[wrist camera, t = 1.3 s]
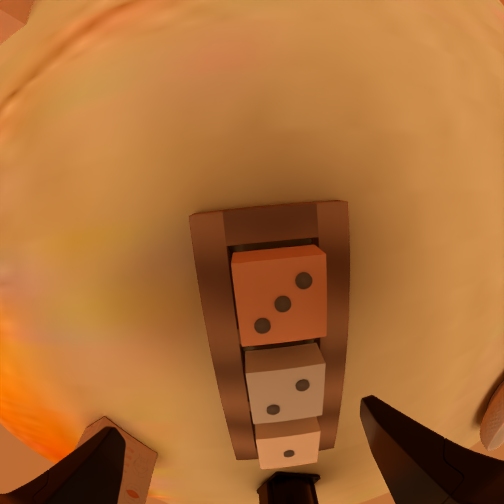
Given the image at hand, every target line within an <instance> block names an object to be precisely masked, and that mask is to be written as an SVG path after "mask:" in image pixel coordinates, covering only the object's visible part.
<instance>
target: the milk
mask: <svg viewBox="0 0 504 504" xmlns="http://www.w3.org/2000/svg"><path fill="white" fill-rule="evenodd" d="M33 1H34V0H0V45H1V44H2V43H3V42H4V41H6V40H7V39H8V38H9V37H11V36H12V35H13V34H14V33H16V32H17V31H18V30H20V29H21V28H22V27H24V26H25V25H26V23H27V19H28V16H29V13H30V10H31V7H32V4H33Z"/></svg>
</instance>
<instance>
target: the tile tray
mask: <svg viewBox="0 0 504 504" xmlns="http://www.w3.org/2000/svg"><path fill="white" fill-rule="evenodd" d="M189 222H190V230H191V237H192V244H193V252H194V258H195V265H196V272H197V278H198V284H199V291H200V297H201V302H202V308H203V314H204V319H205V325H206V330H207V335H208V341H209V346H210V351H211V356H212V361H213V365H214V370H215V375H216V379H217V384H218V388H219V393H220V397H221V401H222V405H223V410H224V414H225V418H226V422H227V426H228V430H229V434H230V438H231V441H232V445H233V449H234V452H235V456H236V460H250V459H259V456H258V450H257V444H256V434H255V433H254V426H253V420H252V414H251V406H250V400H249V393H248V387H247V381H246V374H245V367H244V360H243V353H242V345H241V337H240V330H239V323H238V316H237V308H236V300H235V292H234V284H233V276H232V268H231V260H230V251H229V246H231V245H240V244H250V243H260V242H270V241H281V240H291V239H301V238H312V245H316V246H317V247H318V248H319V249H321V250H322V251H323V252H324V253H325V254H326V268H327V336H325V337H319V338H314V343H317V345H318V347H319V350H320V352H321V354H322V356H323V359H324V361H325V363H326V365H325V383H324V398H323V411H322V415H320V416H316V417H317V421H318V424H319V427H320V431H321V432H320V441H319V450H318V451H321V450H326V449H331V448H334V444H335V438H336V433H337V427H338V420H339V414H340V407H341V399H342V391H343V383H344V373H345V363H346V351H347V337H348V320H349V291H350V245H349V216H348V202H347V201H339V200H334V201H318V202H304V203H292V204H280V205H268V206H257V207H247V208H237V209H228V210H219V211H210V212H202V213H194V214H192V215H190V216H189Z"/></svg>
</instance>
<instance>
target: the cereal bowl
mask: <svg viewBox="0 0 504 504" xmlns="http://www.w3.org/2000/svg"><path fill="white" fill-rule="evenodd" d="M480 438H481V441H482V443H483V445H484V447H485V448H486V449H487V450H488V451H492V450H494V449H496V448H497V447H499V446H500V445H502V444H503V443H504V381H503V382H502V383H501V384H500V386H499V387H498V388H497V390H496V391H495V393H494V394H493V396H492V397H491V399H490V401H489V404H488V409H487V411H486V413H485V415H484V418H483V420H482V423H481V427H480Z"/></svg>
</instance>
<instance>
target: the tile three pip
mask: <svg viewBox="0 0 504 504" xmlns="http://www.w3.org/2000/svg"><path fill="white" fill-rule="evenodd" d="M231 267H232V275H233V284H234V292H235V299H236V307H237V315H238V323H239V330H240V337H241V345H242V347H244V346H255V345H265V344H274V343H282V342H290V341H298V340H305V339H312V338H319V337H325V336H327V268H326V254H325V253H324V252H323V251H322V250H321V249H319V248H318V247H317V246H316V245H305V246H295V247H285V248H275V249H265V250H255V251H245V252H235V253H233V256H232V262H231Z"/></svg>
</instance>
